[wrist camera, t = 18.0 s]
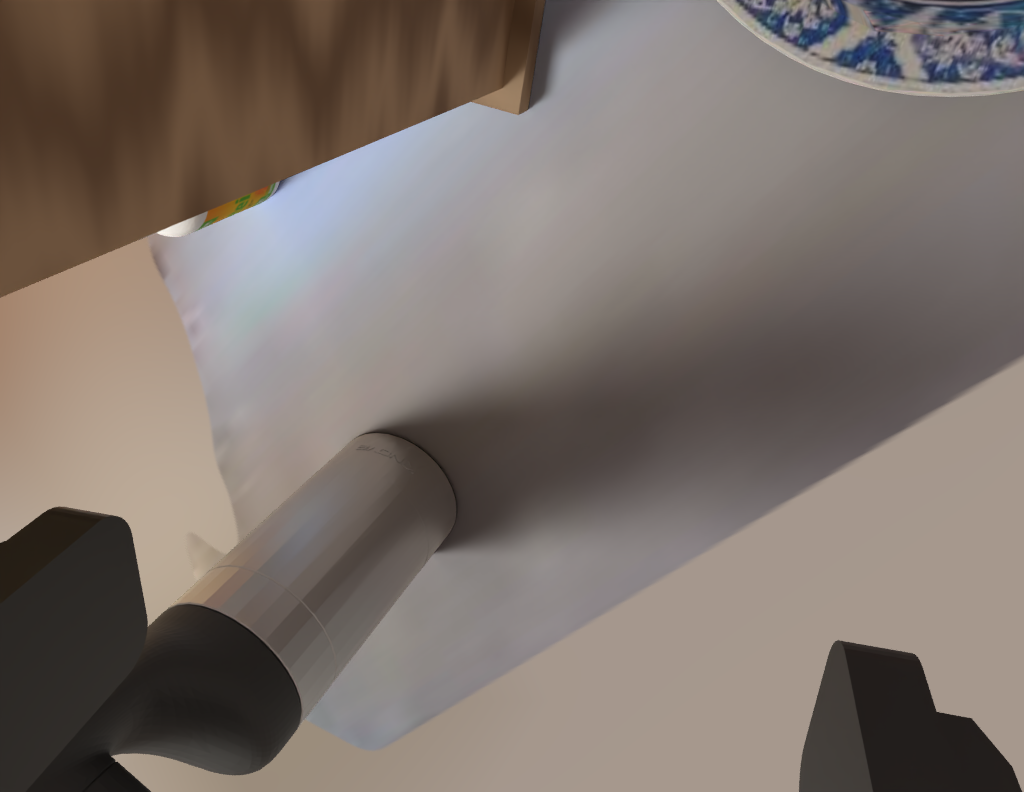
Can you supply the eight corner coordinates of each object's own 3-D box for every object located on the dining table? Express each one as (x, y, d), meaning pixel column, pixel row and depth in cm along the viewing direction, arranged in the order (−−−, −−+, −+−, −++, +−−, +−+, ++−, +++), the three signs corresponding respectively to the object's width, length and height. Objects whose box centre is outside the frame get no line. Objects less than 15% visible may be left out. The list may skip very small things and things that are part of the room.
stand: (527, 110, 41) (-195, 468, 15) (320, 52, 44) (-581, 263, 18) (566, -129, 35) (-485, -235, 9) (325, -176, 38) (-973, -354, 12)
